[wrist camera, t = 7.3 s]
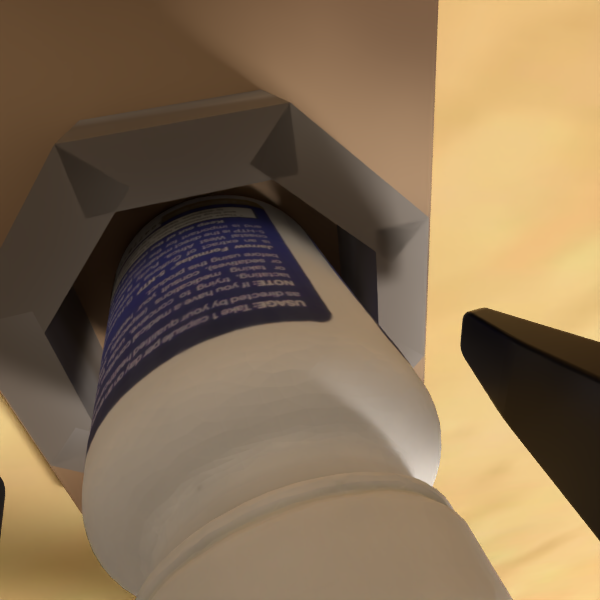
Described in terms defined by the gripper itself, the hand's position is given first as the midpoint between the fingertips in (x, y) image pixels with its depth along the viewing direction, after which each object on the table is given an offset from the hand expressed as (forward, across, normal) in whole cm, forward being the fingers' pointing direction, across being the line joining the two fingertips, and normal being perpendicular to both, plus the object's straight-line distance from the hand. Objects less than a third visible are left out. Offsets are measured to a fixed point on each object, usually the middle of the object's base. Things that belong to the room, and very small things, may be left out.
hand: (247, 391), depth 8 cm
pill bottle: (+4, 0, 0) cm, 4 cm away
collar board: (+5, 0, 0) cm, 5 cm away
